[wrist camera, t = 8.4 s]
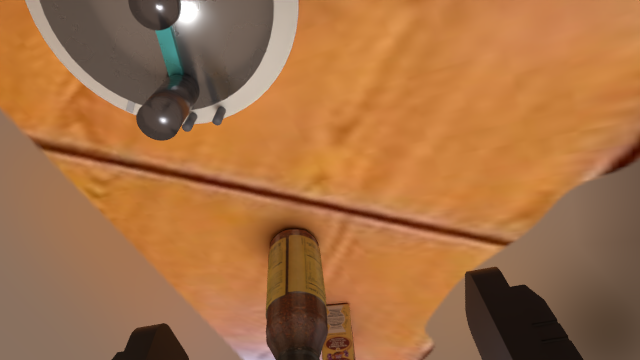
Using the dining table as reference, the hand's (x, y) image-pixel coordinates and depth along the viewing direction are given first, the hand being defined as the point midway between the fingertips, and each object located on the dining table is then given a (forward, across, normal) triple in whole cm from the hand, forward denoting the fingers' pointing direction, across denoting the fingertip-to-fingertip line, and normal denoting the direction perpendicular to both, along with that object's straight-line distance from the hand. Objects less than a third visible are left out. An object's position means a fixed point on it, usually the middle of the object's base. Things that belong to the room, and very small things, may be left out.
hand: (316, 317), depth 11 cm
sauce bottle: (+30, +6, +23) cm, 39 cm away
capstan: (+28, +10, -6) cm, 31 cm away
